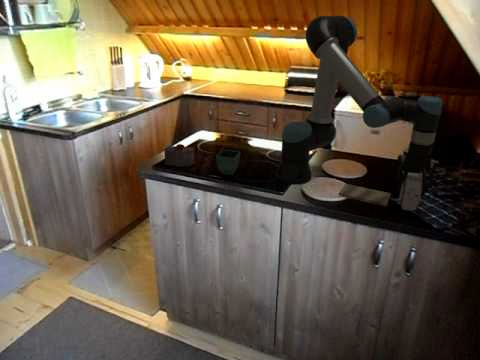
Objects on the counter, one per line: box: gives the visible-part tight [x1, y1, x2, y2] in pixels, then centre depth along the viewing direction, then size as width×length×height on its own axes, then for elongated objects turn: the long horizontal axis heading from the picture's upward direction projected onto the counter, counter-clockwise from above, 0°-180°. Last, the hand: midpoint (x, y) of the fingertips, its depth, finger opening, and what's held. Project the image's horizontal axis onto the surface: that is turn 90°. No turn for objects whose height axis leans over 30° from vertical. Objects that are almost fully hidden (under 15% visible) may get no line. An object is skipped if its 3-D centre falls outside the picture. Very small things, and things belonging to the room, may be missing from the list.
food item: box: [163, 143, 195, 168], centre depth 177 cm, size 14×8×10 cm, turn 82°
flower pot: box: [215, 149, 241, 176], centre depth 169 cm, size 9×9×9 cm
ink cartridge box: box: [401, 170, 423, 211], centre depth 141 cm, size 9×5×15 cm, turn 161°
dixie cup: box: [401, 146, 418, 175], centre depth 170 cm, size 8×8×11 cm
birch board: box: [338, 183, 392, 207], centre depth 151 cm, size 18×10×1 cm, turn 61°
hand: (408, 201), depth 143 cm, fingers closed on ink cartridge box, 5 cm apart
